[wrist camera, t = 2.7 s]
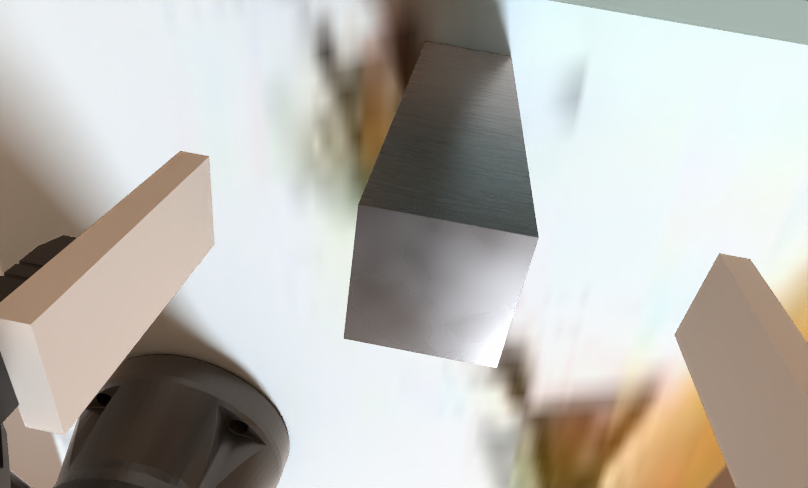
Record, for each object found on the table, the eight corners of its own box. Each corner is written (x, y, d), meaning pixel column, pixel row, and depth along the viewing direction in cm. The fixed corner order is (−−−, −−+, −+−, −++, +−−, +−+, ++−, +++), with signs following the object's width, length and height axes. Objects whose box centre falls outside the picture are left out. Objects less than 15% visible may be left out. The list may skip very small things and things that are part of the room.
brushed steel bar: (412, 123, 28) (343, 338, 14) (425, 41, 26) (358, 204, 12) (491, 137, 28) (496, 367, 14) (511, 56, 26) (538, 237, 12)
